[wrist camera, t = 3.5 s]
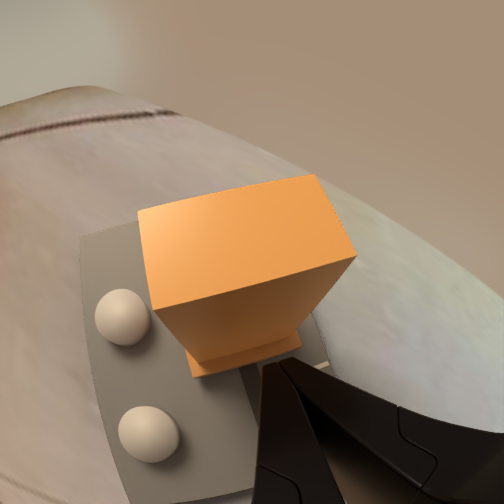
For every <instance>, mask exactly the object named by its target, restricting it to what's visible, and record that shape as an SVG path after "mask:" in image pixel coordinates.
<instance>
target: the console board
mask: <svg viewBox="0 0 504 504" xmlns="http://www.w3.org/2000/svg"><path fill="white" fill-rule="evenodd" d="M80 274H81V291H82V304H83V314H84V323H85V332H86V339H87V346H88V353H89V359H90V365H91V371H92V376H93V381H94V386H95V391H96V396H97V400H98V405H99V409H100V413H101V417H102V421H103V425H104V428H105V432H106V435H107V439H108V442H109V446H110V449H111V452H112V455H113V458H114V461H115V464H116V467H117V470H118V473H119V476H120V479H121V481H122V484H123V487H124V489H125V492H126V494H127V497H128V499H129V502H130V504H173V503H180V502H187V501H194V500H200V499H205V498H211V497H216V496H220V495H225V494H229V493H234V492H238V491H242V490H246V489H250V488H253V487H254V480H255V467H256V455H257V440H258V425H259V409H260V392H261V374H262V366H263V365H265V364H268V363H272V362H278V361H279V360H281V359H284V358H287V357H291V356H292V357H295V358H297V359H299V360H301V361H303V362H305V363H307V364H309V365H311V366H313V367H315V368H317V369H319V370H321V371H323V372H325V373H327V374H329V375H332V376H334V377H335V375H334V372H333V369H332V367H331V364H330V361H329V359H328V356H327V353H326V350H325V348H324V345H323V342H322V340H321V337H320V335H319V332H318V329H317V327H316V324H315V321H314V319H313V316H312V314H311V313H310V314H309V316H308V317H307V318H306V319H305V320H304V321H303V323H302V324H301V325H300V326H299V327H298V328H297V329H296V330H297V332H298V335H299V338H300V341H301V343H302V346H301V347H300V348H299V349H296V350H293V351H290V352H287V353H284V354H281V355H278V356H275V357H272V358H269V359H265V360H262V361H259V362H256V363H252V364H249V365H245V366H242V367H238V368H235V369H231V370H228V371H224V372H220V373H216V374H212V375H208V376H204V377H200V378H196V379H194V378H193V377H192V373H191V370H190V366H189V362H188V359H187V355H186V351H185V348H184V347H183V346H182V345H181V344H180V342H179V341H178V340H177V339H176V338H175V337H174V335H173V334H172V333H171V332H170V331H169V329H168V328H167V327H166V326H165V325H164V323H163V322H162V321H161V320H160V319H159V317H158V316H157V315H156V314H155V312H154V311H153V309H152V304H151V299H150V293H149V288H148V282H147V276H146V270H145V264H144V257H143V250H142V243H141V236H140V228H139V221H135V222H132V223H128V224H124V225H120V226H117V227H113V228H109V229H106V230H102V231H99V232H95V233H92V234H88V235H85V236H81V237H80Z"/></svg>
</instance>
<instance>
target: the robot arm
mask: <svg viewBox="0 0 504 504" xmlns="http://www.w3.org/2000/svg"><path fill="white" fill-rule="evenodd" d="M342 496H343V497H342ZM343 498H344V499H345V501H346V502H347V504H504V433H495V432H488V431H483V430H478V429H473V428H469V427H464V426H460V425H455V424H451V423H447V422H444V421H440V420H437V419H433V418H430V417H427V416H424V415H421V414H419V413H416V412H413V411H411V410H408V409H406V408H403V407H401V406H398V407H397V405H396V404H393V403H391V402H389V401H386V400H384V399H382V398H379V397H377V396H375V395H373V394H370V393H368V392H366V391H364V390H361V389H359V388H357V387H355V386H353V385H351V384H348V383H346V382H344V381H342V380H340V379H338V378H336V377H334V376H332V375H329V374H327V373H325V372H323V371H321V370H319V369H317V368H315V367H313V366H311V365H309V364H307V363H305V362H303V361H301V360H299V359H297V358H295V357H292V356H291V357H287V358H284V359H281V360H279V361H278V362H272V363H268V364H265V365H263V366H262V374H261V392H260V409H259V425H258V440H257V455H256V467H255V480H254V489H253V497H252V502H251V504H345V502H344V499H343Z"/></svg>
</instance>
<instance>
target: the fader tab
mask: <svg viewBox="0 0 504 504" xmlns="http://www.w3.org/2000/svg"><path fill="white" fill-rule="evenodd" d="M138 219H139V228H140V236H141V243H142V250H143V257H144V264H145V270H146V276H147V282H148V288H149V293H150V299H151V304H152V309H153V311H154V312H155V314H156V315H157V316H158V317H159V319H160V320H161V321H162V322H163V323H164V325H165V326H166V327H167V328H168V329H169V331H170V332H171V333H172V334H173V335H174V337H175V338H176V339H177V340H178V341H179V342H180V344H181V345H182V346H183V347H184V348H185V351H186V355H187V359H188V362H189V366H190V370H191V373H192V377H193V378H194V379H196V378H200V377H204V376H208V375H212V374H216V373H220V372H224V371H228V370H231V369H235V368H238V367H242V366H245V365H249V364H252V363H256V362H259V361H262V360H265V359H269V358H272V357H275V356H278V355H281V354H284V353H287V352H290V351H293V350H296V349H299V348H300V347H301V346H302V343H301V341H300V338H299V335H298V332H297V330H296V329H297V328H298V327H299V326H300V325H301V324H302V323H303V321H304V320H305V319H306V318H307V317H308V316H309V314H310V313H311V312H312V311H313V310H314V308H315V307H316V306H317V305H318V304H319V302H320V301H321V300H322V299H323V298H324V296H325V295H326V294H327V293H328V292H329V290H330V289H331V288H332V287H333V285H334V284H335V283H336V282H337V280H338V279H339V278H340V277H341V275H342V274H343V273H344V272H345V270H346V269H347V268H348V266H349V265H350V264H351V263H352V261H353V260H354V259H355V257H356V256H357V254H356V252H355V250H354V248H353V246H352V244H351V242H350V240H349V238H348V236H347V234H346V232H345V230H344V228H343V226H342V224H341V222H340V220H339V218H338V216H337V214H336V212H335V210H334V209H333V207H332V205H331V203H330V201H329V199H328V197H327V196H326V194H325V192H324V190H323V188H322V187H321V185H320V183H319V181H318V179H317V178H316V176H315V174H311V175H305V176H299V177H293V178H288V179H282V180H276V181H271V182H266V183H260V184H255V185H250V186H245V187H240V188H235V189H230V190H225V191H220V192H216V193H211V194H207V195H202V196H198V197H193V198H189V199H185V200H180V201H176V202H172V203H168V204H164V205H160V206H156V207H152V208H148V209H144V210H140V211H138Z"/></svg>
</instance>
